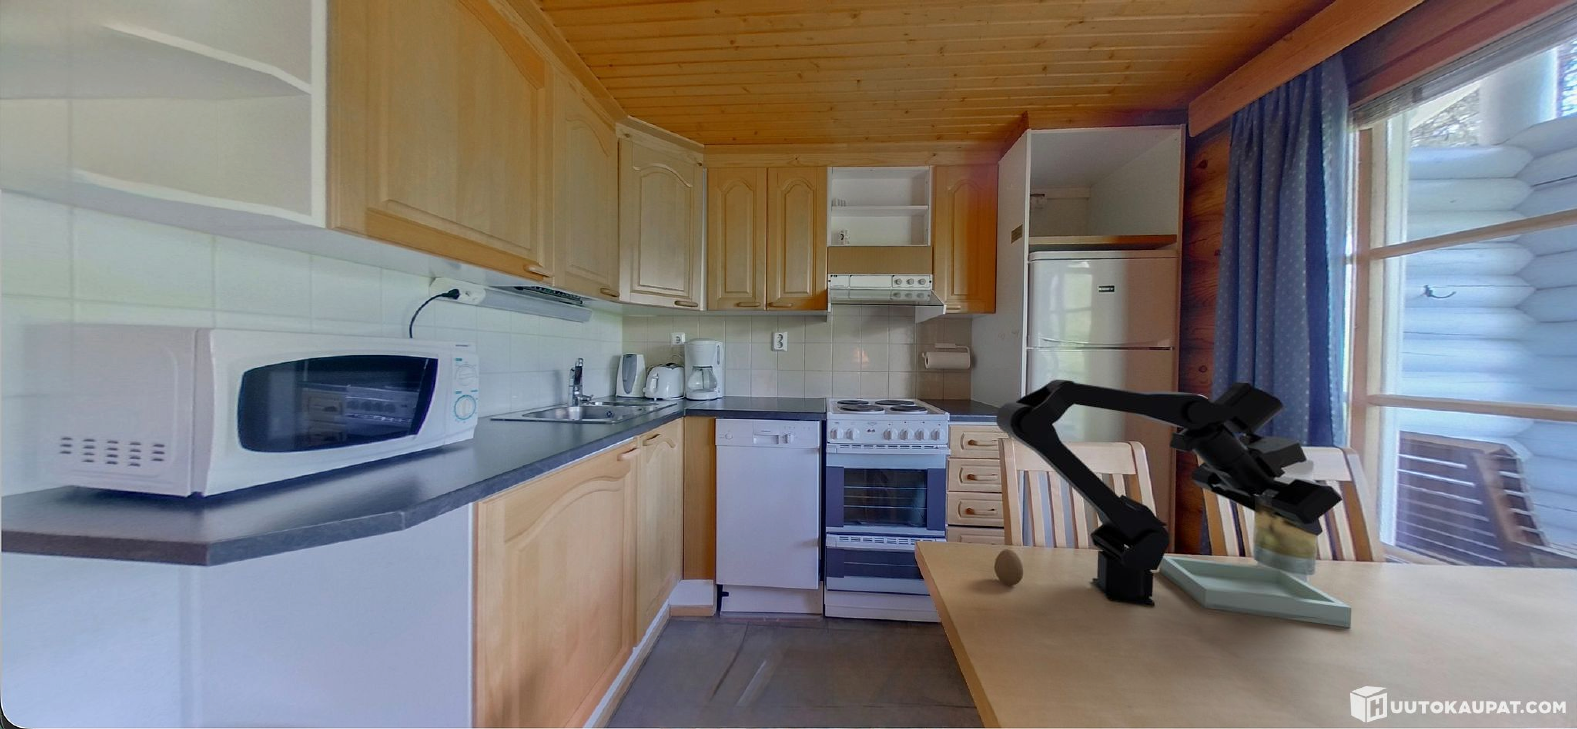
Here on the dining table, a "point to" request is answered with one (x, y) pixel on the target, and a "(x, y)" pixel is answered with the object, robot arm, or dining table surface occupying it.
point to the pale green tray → (1254, 591)
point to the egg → (1008, 567)
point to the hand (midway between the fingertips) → (1294, 524)
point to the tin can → (1281, 541)
